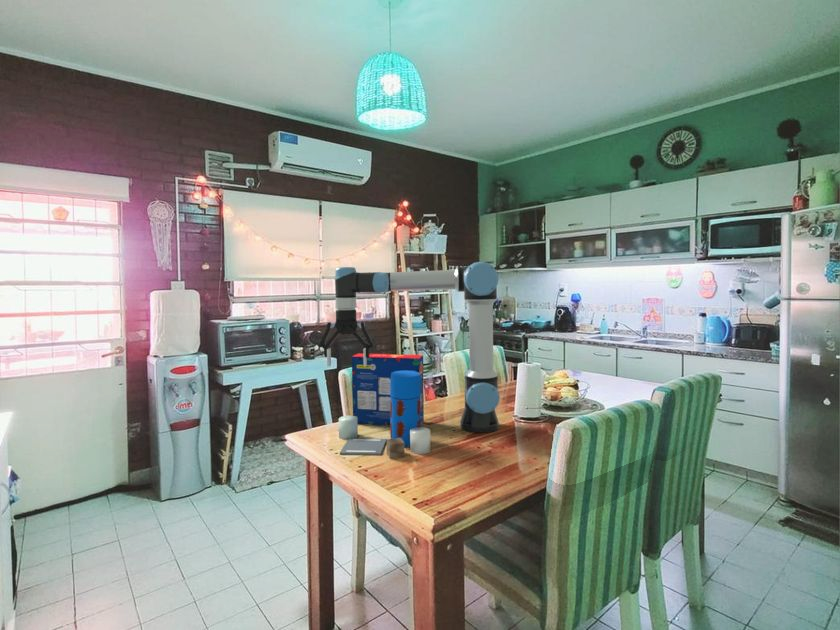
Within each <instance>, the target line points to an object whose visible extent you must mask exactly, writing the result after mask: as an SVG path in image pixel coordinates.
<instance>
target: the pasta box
mask: <svg viewBox="0 0 840 630" xmlns="http://www.w3.org/2000/svg"><path fill="white" fill-rule="evenodd" d="M395 371H416V372H419V373H420V426H421V427H422V425H423V424H422V423H424V422H425V420H424V419H425V418H424V417H425V415H424V414H425V412H424V411H425V410H424V409H425V407H424V405H425V403H424V399H425V398H424V397H425V396H424V394H425V392H424V355H423V354H400V353H399V354H396V353H395V354H394V353H393V354H391V353H369V357H367V366H366V367H364V362H363V353H356V354H354V355H352V356H351V379H352V381H351V387H352V390H351V391H352V416H356V417H357V420H358V425H365V424H371V425H370V426H382V425H390V379H391V373H392V372H395Z"/></svg>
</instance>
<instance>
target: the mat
mask: <svg viewBox="0 0 840 630" xmlns="http://www.w3.org/2000/svg"><path fill="white" fill-rule="evenodd" d="M386 439H387V438H349V439H348V440H346V442H345V444H344V445H343V447H342V448H341V450H340V451H339V455H345V456H346V455H348V456H351V455H352V456H353V455H355V456H357V455H358V456H361V455H362V456H381V455H382V453H383V450H384V448H385V445H386V444H387V442H386Z"/></svg>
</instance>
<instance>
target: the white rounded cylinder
mask: <svg viewBox="0 0 840 630" xmlns="http://www.w3.org/2000/svg"><path fill="white" fill-rule="evenodd" d="M409 450H410V453H412V454H415V455H425V454H428V453H430V452H431V429H430V428H428V427H422V426H421V427H417V428H412V429H411V430H410V446H409Z"/></svg>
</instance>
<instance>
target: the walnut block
mask: <svg viewBox="0 0 840 630" xmlns="http://www.w3.org/2000/svg"><path fill="white" fill-rule="evenodd" d="M385 439H386V455H387V456H388V459H390V460H394V459H402V458H405V455H406V454H405V452H406V451H405V449H406V447H405V446H404V442H403V440H402V439H401V438H395V439H391V438H389V439H387V438H385Z"/></svg>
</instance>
